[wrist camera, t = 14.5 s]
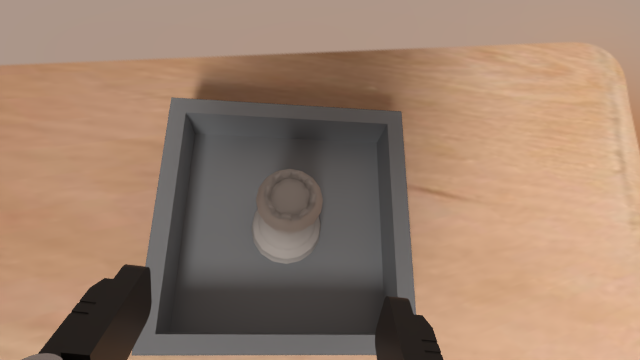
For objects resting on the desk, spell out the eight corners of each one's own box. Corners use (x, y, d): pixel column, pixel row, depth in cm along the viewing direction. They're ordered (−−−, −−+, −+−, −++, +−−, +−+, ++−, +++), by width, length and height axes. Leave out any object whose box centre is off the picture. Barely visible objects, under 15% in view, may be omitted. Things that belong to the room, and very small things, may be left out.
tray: (154, 349, 24) (131, 355, 20) (184, 126, 29) (171, 97, 25) (397, 349, 25) (418, 354, 21) (385, 137, 30) (401, 111, 26)
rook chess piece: (305, 275, 25) (317, 256, 18) (240, 249, 25) (225, 219, 18) (329, 212, 27) (350, 170, 19) (268, 188, 27) (265, 137, 19)
